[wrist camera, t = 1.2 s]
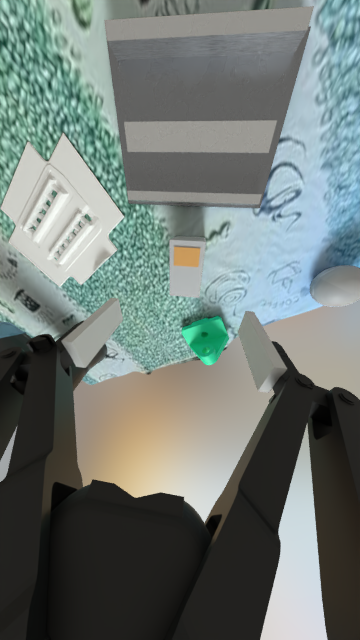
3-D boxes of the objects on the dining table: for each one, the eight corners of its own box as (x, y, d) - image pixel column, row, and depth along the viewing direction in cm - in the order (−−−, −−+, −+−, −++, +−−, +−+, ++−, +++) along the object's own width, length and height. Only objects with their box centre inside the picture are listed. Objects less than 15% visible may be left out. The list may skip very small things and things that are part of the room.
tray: (-3, 228, 34) (-23, 228, 31) (52, 111, 23) (31, 94, 20) (72, 295, 42) (63, 300, 39) (139, 231, 32) (133, 231, 29)
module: (175, 281, 36) (169, 295, 29) (176, 235, 30) (169, 239, 23) (199, 283, 35) (199, 298, 29) (204, 237, 30) (206, 241, 23)
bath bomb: (297, 298, 35) (320, 316, 28) (306, 265, 30) (335, 277, 24) (337, 293, 33) (371, 311, 26) (352, 257, 28) (398, 267, 22)
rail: (130, 203, 28) (123, 201, 25) (110, 46, 19) (95, 15, 16) (257, 208, 26) (264, 206, 23) (305, 36, 17) (326, -1, 14)
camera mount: (219, 313, 39) (224, 337, 31) (227, 332, 43) (234, 359, 35) (181, 325, 44) (176, 350, 35) (191, 342, 47) (189, 369, 39)
